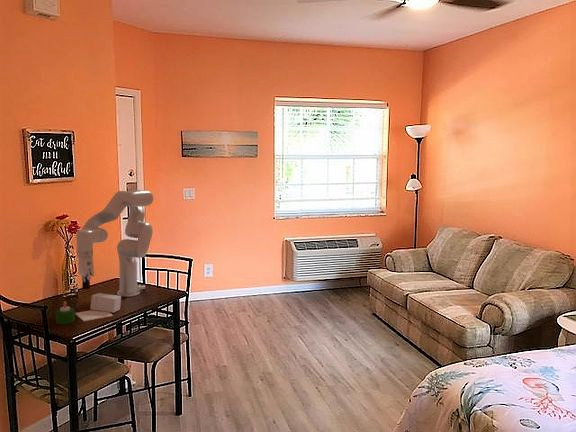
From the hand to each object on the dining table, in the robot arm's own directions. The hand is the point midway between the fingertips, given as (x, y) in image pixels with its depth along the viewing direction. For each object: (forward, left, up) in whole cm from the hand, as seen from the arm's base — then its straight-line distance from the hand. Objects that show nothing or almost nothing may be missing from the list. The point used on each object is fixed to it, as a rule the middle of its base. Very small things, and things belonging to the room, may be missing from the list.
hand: (86, 288), depth 256 cm
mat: (0, +12, -11) cm, 16 cm away
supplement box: (-3, +3, -6) cm, 7 cm away
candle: (+14, +13, -11) cm, 22 cm away
